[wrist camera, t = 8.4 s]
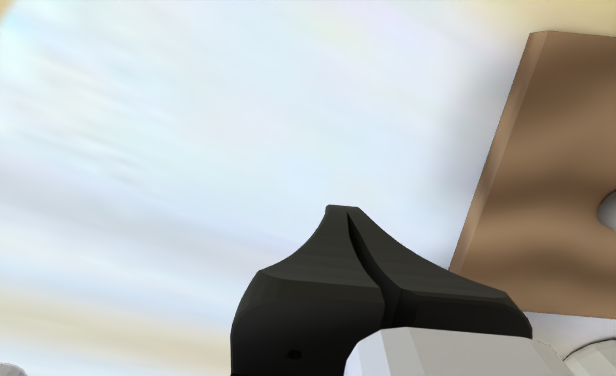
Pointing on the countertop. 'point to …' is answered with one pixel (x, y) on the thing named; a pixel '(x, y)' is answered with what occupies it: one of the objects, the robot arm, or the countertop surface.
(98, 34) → the countertop surface
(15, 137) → the countertop surface
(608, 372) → the soap bottle
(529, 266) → the dial board
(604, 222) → the dial lever
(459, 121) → the countertop surface
